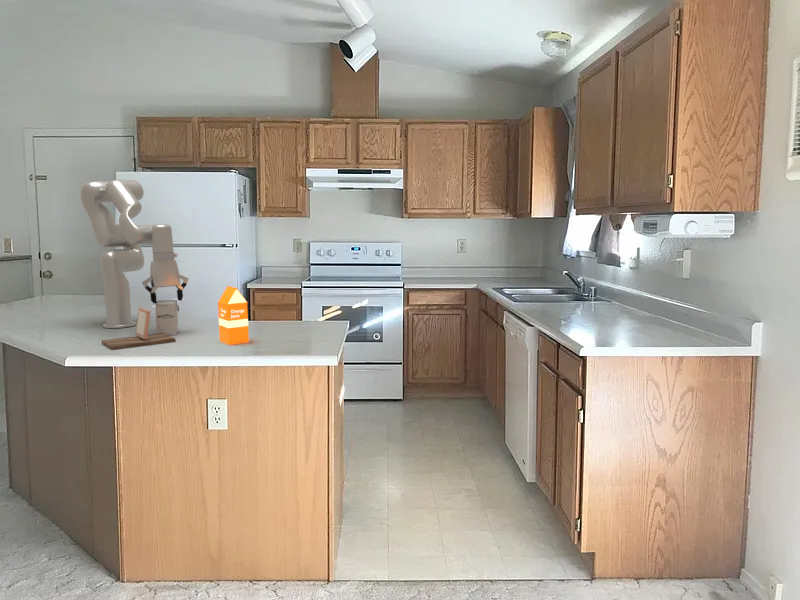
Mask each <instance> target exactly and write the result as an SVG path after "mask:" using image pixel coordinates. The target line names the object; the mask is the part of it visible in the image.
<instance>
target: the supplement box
mask: <svg viewBox="0 0 800 600" xmlns="http://www.w3.org/2000/svg"><path fill="white" fill-rule="evenodd" d="M154 304H155V305H154V306H155V325H156V326H155V329H156V333H155V334H159V333H164V334H166V335H169V336H176V335H177V333H178V332H179V322H178V319H179V316H178V299H171V300H170V299H169V300H168V299H166V300H165V299H164V300H163V299H160V300H157V303H154Z"/></svg>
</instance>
